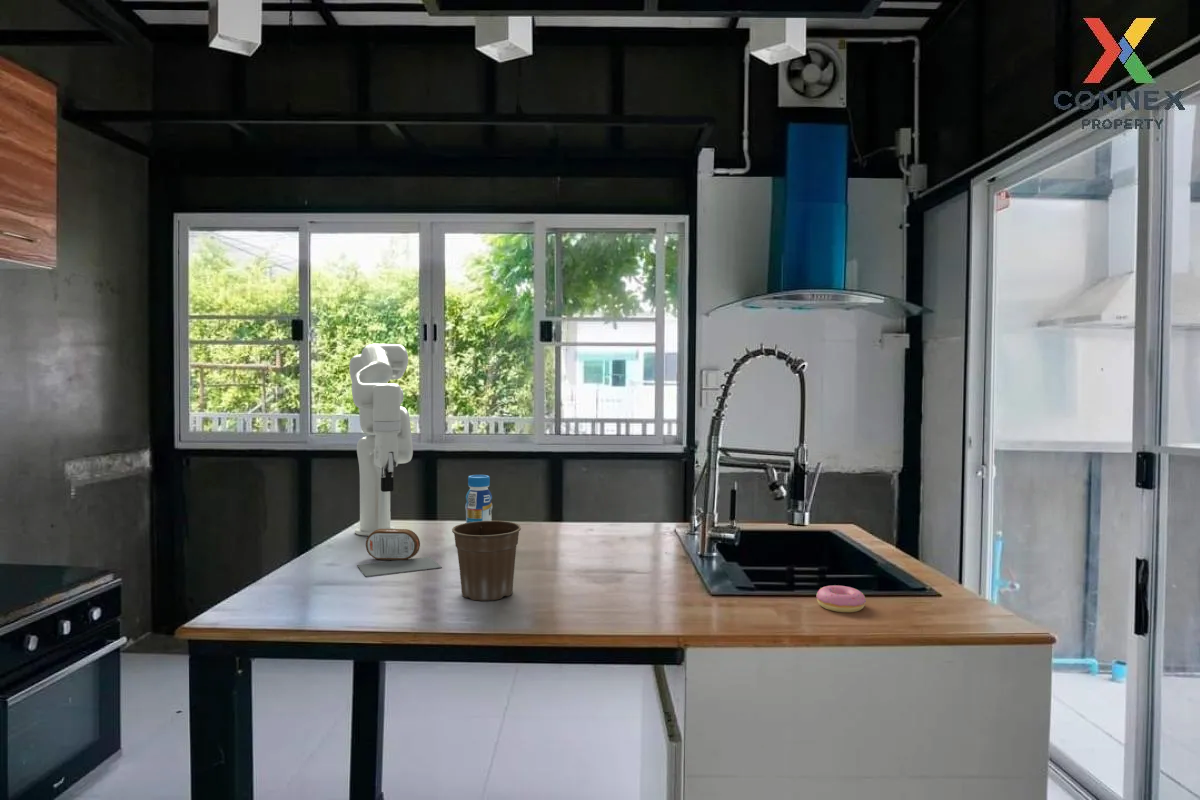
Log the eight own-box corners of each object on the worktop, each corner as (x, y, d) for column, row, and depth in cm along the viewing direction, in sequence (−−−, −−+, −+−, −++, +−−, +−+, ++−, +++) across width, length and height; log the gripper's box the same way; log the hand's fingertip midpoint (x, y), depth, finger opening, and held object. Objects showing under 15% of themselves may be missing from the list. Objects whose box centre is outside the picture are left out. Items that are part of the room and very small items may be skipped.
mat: (357, 565, 204) (357, 564, 204) (429, 557, 214) (429, 556, 214) (365, 577, 194) (365, 575, 194) (441, 568, 203) (441, 566, 203)
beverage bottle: (462, 537, 239) (462, 474, 238) (487, 535, 243) (488, 473, 242) (469, 543, 232) (469, 478, 231) (495, 540, 235) (495, 477, 234)
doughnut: (833, 616, 167) (834, 598, 167) (806, 601, 178) (807, 584, 178) (875, 612, 170) (876, 594, 170) (846, 598, 181) (847, 581, 181)
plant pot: (454, 606, 171) (454, 536, 170) (449, 586, 186) (449, 522, 186) (525, 601, 175) (526, 532, 174) (514, 582, 191) (515, 519, 190)
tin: (420, 558, 211) (420, 528, 211) (416, 560, 208) (416, 530, 208) (368, 557, 213) (368, 528, 213) (364, 560, 210) (364, 530, 210)
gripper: (368, 426, 220) (368, 488, 220) (379, 429, 207) (379, 495, 207) (394, 425, 223) (394, 487, 224) (406, 428, 210) (406, 493, 211)
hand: (387, 491), depth 216 cm, fingers closed
